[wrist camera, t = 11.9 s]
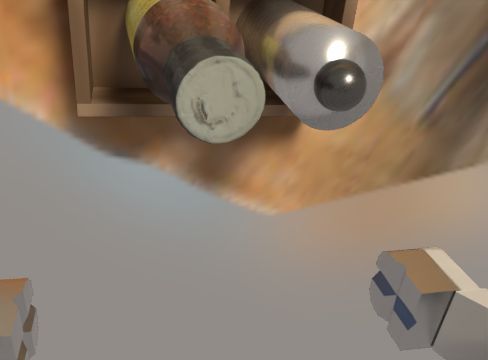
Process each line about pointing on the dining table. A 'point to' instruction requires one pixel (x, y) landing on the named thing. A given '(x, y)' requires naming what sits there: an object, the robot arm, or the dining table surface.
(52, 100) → the dining table surface
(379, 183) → the dining table surface
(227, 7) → the condiment caddy
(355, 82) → the pepper mill
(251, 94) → the sauce bottle
